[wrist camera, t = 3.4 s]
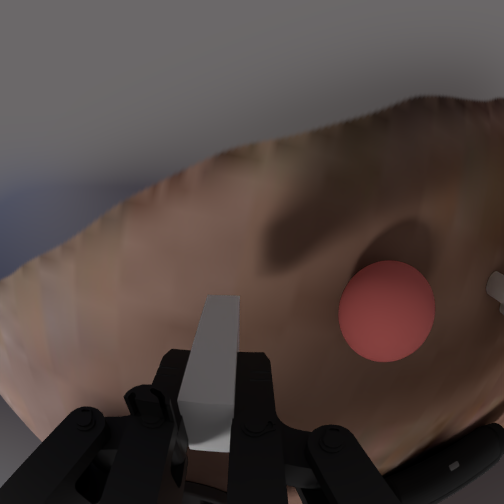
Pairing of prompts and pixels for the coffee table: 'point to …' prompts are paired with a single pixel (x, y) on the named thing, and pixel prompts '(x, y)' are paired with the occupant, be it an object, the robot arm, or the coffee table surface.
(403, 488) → the portable speaker
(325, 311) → the coffee table surface
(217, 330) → the robot arm
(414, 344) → the ball
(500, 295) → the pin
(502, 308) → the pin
